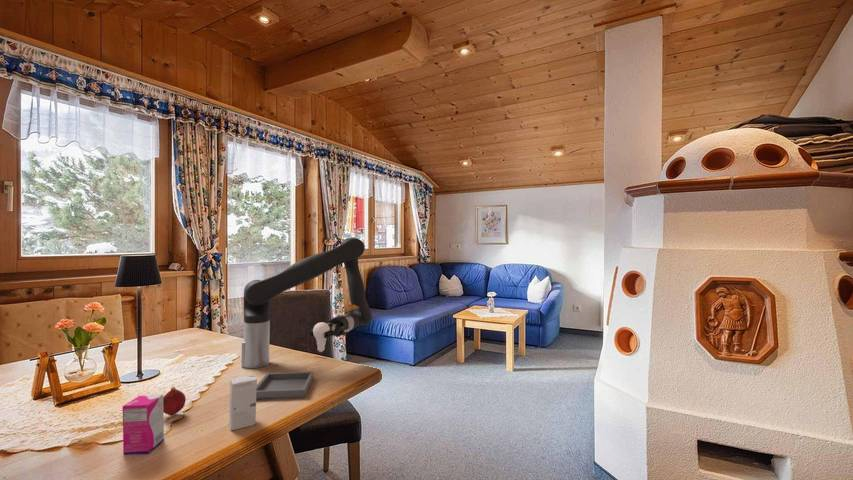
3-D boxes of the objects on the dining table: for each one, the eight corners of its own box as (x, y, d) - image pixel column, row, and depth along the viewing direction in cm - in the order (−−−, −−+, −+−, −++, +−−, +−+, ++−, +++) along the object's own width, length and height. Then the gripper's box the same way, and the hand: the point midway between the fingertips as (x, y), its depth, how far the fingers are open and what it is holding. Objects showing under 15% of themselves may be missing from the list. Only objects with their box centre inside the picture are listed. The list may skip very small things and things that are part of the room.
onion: (190, 412, 103) (190, 384, 103) (170, 422, 98) (170, 392, 98) (175, 409, 105) (176, 381, 105) (155, 418, 100) (155, 389, 100)
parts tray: (250, 400, 112) (250, 392, 112) (266, 380, 128) (267, 373, 128) (304, 397, 114) (304, 389, 114) (313, 378, 130) (313, 371, 130)
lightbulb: (331, 349, 138) (332, 320, 138) (325, 354, 131) (326, 324, 131) (316, 349, 138) (317, 320, 138) (309, 354, 132) (310, 323, 132)
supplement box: (139, 441, 89) (139, 394, 89) (164, 440, 89) (165, 393, 89) (121, 455, 83) (121, 405, 83) (148, 454, 83) (149, 404, 83)
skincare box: (230, 431, 94) (231, 384, 94) (228, 424, 97) (229, 379, 97) (256, 424, 97) (257, 379, 97) (253, 417, 101) (254, 374, 101)
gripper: (326, 314, 151) (300, 322, 134) (357, 317, 146) (335, 326, 130) (325, 332, 151) (300, 342, 134) (356, 335, 146) (334, 347, 130)
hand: (317, 334), depth 132 cm, fingers closed on lightbulb, 5 cm apart
